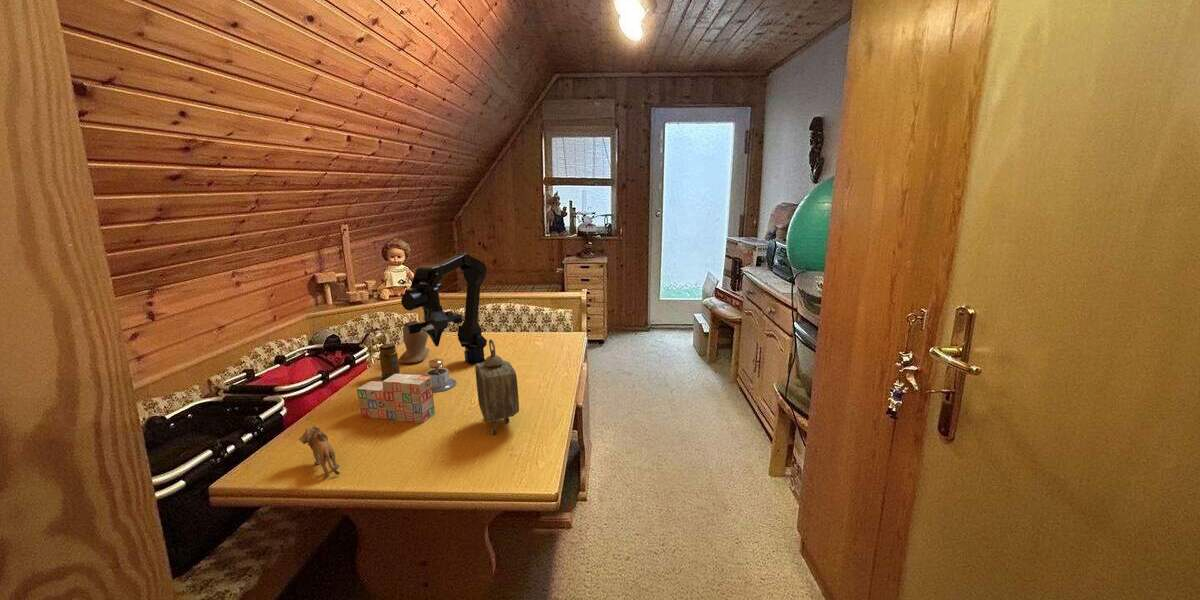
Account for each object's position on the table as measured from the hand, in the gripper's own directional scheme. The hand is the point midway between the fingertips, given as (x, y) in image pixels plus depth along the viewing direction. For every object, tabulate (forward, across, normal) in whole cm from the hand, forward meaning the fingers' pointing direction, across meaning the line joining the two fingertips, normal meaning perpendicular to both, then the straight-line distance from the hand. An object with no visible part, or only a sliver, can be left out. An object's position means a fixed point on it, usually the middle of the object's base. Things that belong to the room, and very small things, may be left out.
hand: (436, 346), depth 167 cm
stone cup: (+13, +2, +29) cm, 32 cm away
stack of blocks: (+12, -21, -19) cm, 31 cm away
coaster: (+12, -3, -5) cm, 14 cm away
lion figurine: (+12, -43, -34) cm, 57 cm away
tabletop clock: (+12, -1, -45) cm, 46 cm away
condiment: (+13, -12, +15) cm, 24 cm away
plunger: (+12, -3, -5) cm, 13 cm away
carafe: (+12, -4, -5) cm, 14 cm away
